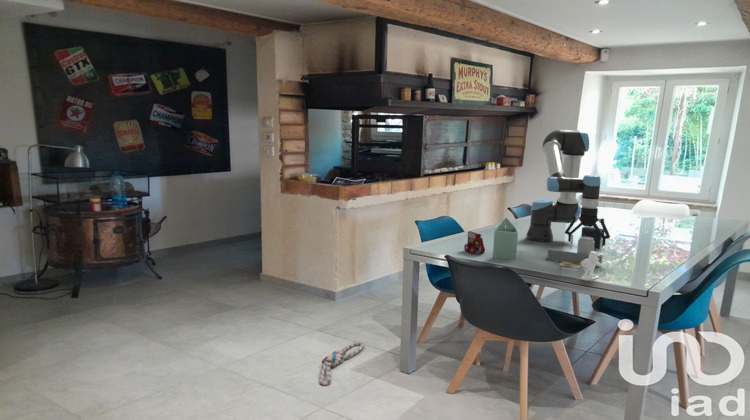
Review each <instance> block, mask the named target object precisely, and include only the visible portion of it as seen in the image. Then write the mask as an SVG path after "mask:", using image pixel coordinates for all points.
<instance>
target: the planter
mask: <svg viewBox="0 0 750 420" xmlns="http://www.w3.org/2000/svg"><path fill="white" fill-rule="evenodd" d="M518 232H519V231H518V229H517V227H516V226H515V225H514V224H513V223H512V222H511V221H510V220H509V218H507V217H505V218H504V219H503V220H502V221H501V223H500V224H499V225H498V227H496V229H495V230H494V233H493V247H492V248H493V251H492V259H504V260H505V259H506V260H516V259H517V250H518V249H517V247H518V236H519V235H518V234H519V233H518Z"/></svg>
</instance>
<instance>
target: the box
mask: <svg viewBox="0 0 750 420" xmlns="http://www.w3.org/2000/svg"><path fill="white" fill-rule="evenodd" d="M599 229H600V230H601V231H602V233H603V234H604V235H605V232H604V230H603V228H600V227H599ZM580 237H591V238H593V240H594V241H595V244H594V249H599V250H600V243H601V239H602V237H601V236H600V234H599V233H598V232H597V231H596V229H595V228H594V227H593V226H592V227H589V226H583V227H581V235H580Z"/></svg>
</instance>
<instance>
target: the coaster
mask: <svg viewBox="0 0 750 420" xmlns="http://www.w3.org/2000/svg"><path fill="white" fill-rule="evenodd" d="M559 267H563V268H569V267H570V268H569V269H575V268H576V269H577V270H581V269H582V268H583V266H582V265H581V263H574V262H568V261H563V262H562V261H561V262H560V264H559Z"/></svg>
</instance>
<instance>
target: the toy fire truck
mask: <svg viewBox="0 0 750 420" xmlns="http://www.w3.org/2000/svg"><path fill="white" fill-rule="evenodd" d="M463 247H464V251H465V252H466V253H469V252H470V254H472V255H475V254H477V253H480V254H484V253H485V252H486V248H485V245H484V239H483V237H482V234H481V233H477V232H474V231H472V230H471V231H467V243H465V244H464V246H463Z"/></svg>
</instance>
